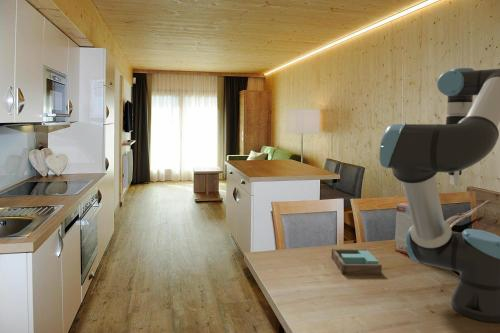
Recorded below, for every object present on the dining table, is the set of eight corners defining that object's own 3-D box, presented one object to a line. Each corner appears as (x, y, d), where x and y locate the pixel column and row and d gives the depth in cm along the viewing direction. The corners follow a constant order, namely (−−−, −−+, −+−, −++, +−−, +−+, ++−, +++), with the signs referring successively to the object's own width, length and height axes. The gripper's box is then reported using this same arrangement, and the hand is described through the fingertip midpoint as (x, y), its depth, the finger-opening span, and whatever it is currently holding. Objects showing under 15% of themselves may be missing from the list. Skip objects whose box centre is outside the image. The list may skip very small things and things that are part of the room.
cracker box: (432, 256, 162) (435, 207, 159) (424, 259, 158) (427, 209, 156) (401, 247, 173) (404, 201, 170) (393, 250, 169) (396, 203, 167)
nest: (381, 274, 142) (381, 265, 142) (342, 274, 142) (343, 265, 141) (365, 257, 160) (366, 249, 160) (331, 257, 160) (331, 249, 159)
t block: (377, 271, 145) (378, 261, 145) (345, 271, 145) (346, 261, 144) (367, 260, 157) (367, 250, 157) (338, 260, 157) (338, 250, 156)
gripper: (471, 115, 135) (466, 182, 138) (434, 115, 135) (430, 182, 137) (484, 115, 127) (479, 186, 130) (445, 115, 127) (440, 186, 130)
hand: (454, 184), depth 134 cm, fingers closed
